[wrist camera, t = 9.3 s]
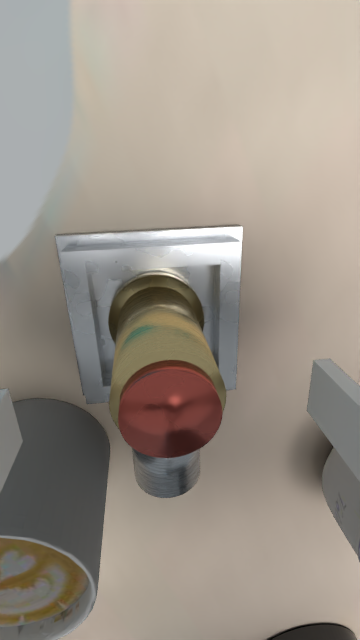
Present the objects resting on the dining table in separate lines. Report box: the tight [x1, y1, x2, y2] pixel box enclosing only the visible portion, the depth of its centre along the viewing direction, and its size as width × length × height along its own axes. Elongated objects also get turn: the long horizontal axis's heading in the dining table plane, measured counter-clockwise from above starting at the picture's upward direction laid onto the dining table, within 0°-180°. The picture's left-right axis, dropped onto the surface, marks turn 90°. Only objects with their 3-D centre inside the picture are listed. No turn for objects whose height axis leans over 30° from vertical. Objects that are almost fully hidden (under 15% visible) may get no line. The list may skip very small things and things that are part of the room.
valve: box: [108, 272, 226, 458], centre depth 17 cm, size 6×6×10 cm
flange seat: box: [55, 225, 243, 498], centre depth 22 cm, size 17×11×5 cm, turn 2°
